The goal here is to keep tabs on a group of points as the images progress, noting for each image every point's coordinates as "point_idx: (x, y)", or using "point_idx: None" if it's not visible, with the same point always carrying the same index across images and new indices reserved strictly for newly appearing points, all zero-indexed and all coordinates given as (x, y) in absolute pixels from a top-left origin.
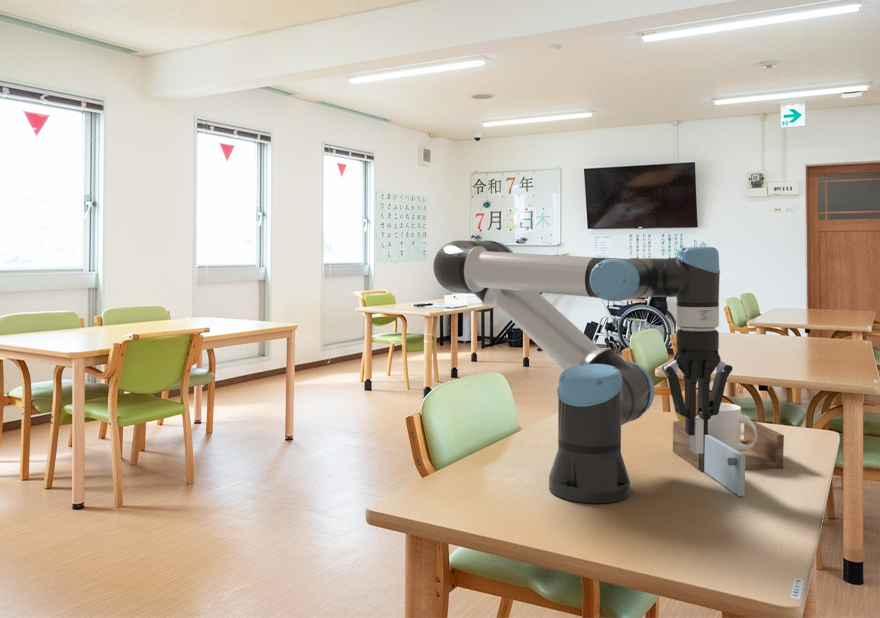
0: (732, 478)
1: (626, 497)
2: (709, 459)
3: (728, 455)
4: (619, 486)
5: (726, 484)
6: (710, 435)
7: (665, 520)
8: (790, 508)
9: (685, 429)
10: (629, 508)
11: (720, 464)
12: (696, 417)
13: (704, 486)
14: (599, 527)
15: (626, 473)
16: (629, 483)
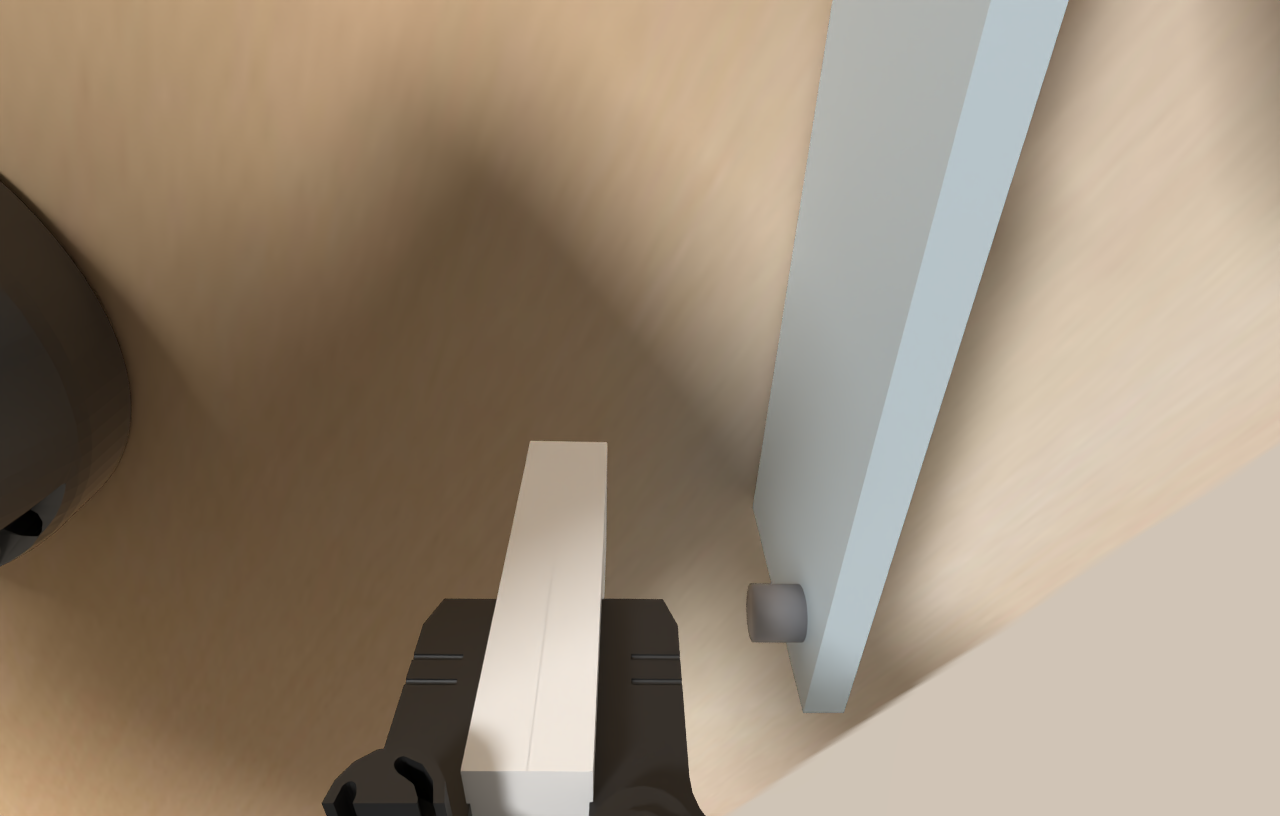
0: (777, 492)
1: (110, 475)
2: (856, 123)
3: (823, 536)
4: (14, 554)
5: (776, 386)
6: (1055, 34)
7: (296, 681)
8: (897, 617)
9: (419, 640)
10: (138, 575)
11: (819, 352)
12: (546, 808)
13: (658, 313)
14: (19, 714)
15: (10, 505)
16: (82, 469)
